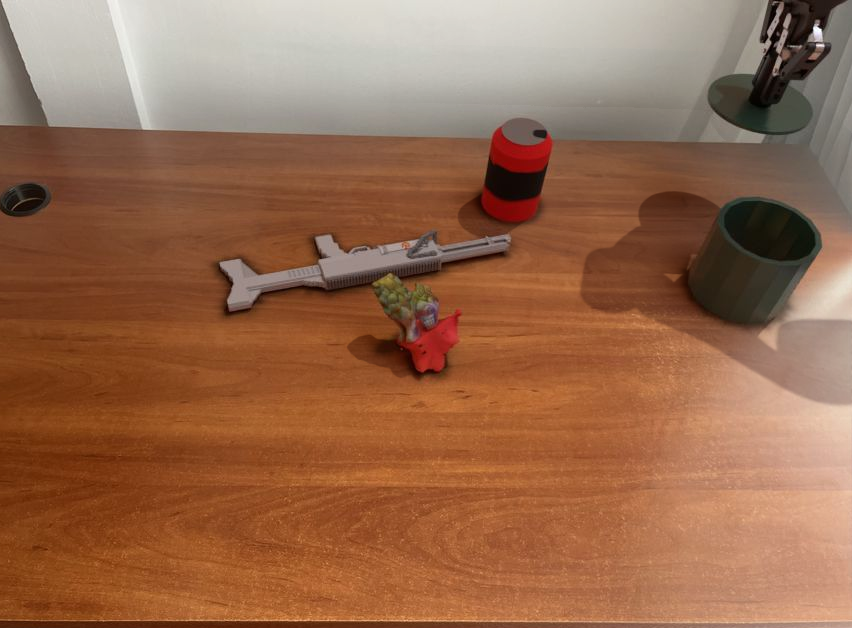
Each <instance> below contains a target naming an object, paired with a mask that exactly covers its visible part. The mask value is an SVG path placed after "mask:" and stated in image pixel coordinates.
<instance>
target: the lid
mask: <svg viewBox="0 0 852 628" xmlns="http://www.w3.org/2000/svg"><path fill="white" fill-rule="evenodd" d="M777 58H778V53H777V52H776V50H772V51H770V52H769V54H768V56H767V59H766V61H765V63H764V65H763V67H762V70H761V72H760V74H759V76H758V78H757V81H756V83H755V85H754V87H753V85H752V80H753V78H754V76H755V73H733V74H727V75H724V76H723V75H722V76H721V77H719V78H717V79H715V80H714V81H712V82H711V84H710V85H709V87H708V89H707V93H706V99H707V103H708V105H709V107H710V108H711V109H712V111H713V112H714V113H715V114H716V115H717V116H718V117H720V118H721V119H723V120H724V121H725V122H727V123H729V124H730V125H732V126H735V127H737V128H739V129H742V130H745V131H747V132H751V133H755V134H758V135H759V134H761V135H766V136H787V135H792V134H795V133H798V132H801V131H802V130H804V129H805V128H807V127H808V126H809V125H810V123H811V121H812V119H813V116H814V109H813V107H812V104H811V103H810V101H809V99H808V98H807V97H806V95H804V94H803V93H802V92H801V91H799V90H798V89H797V88H795V87H793V86H791V85H790V84H788V86H787V88H786V90H785V92H784V94H783V96H782V98H781V100H780V102H779V103H778V104H762V102H761V100H760V96H761V94H762V92H763V90H764V88H765V85H766V83H767V81H768V79H769V77H770V75H771V73H773V68H774V66H775V63H776V60H777ZM791 59H792V57H789V58H787V59H786V62H785V64H784V65H786V64H787V63H788V62H789V61H790V60H791Z"/></svg>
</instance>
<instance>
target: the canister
mask: <svg viewBox="0 0 852 628" xmlns="http://www.w3.org/2000/svg"><path fill="white" fill-rule="evenodd" d="M822 241H823V240H822V234H821V232H820V231H819V229H818V228H817V226H816V225H815V223H814V222H813V220H812V219H811V218H809V217H808V216H807V215H805V214H804V213H803V212H801V211H800V210H799V209H798V208H796V207H793V206H791V205H789V204H787V203H785V202H782V201H780V200H777V199H772V198H767V197H762V196H743V197H742V196H741V197H737V198H735V199H732V200H730V201H727V202H726V203H725V204H724V205H723V206H722V207H721V209H720V210H719V211H718V212H717V214H716V216H715V218H714V220H713V223H712V224H711V227H710V229H709V231H708V232H707V235H706V237H705V239H704V241H703V243H702V244H701V247H700V248H699V250H698V253H697V254H696V257H695V259H694V260H693V263H692V265H691V267H690V269H689V271H688V281H687V284H688V285H687V286H688V287H689V290H690V292H691V293H692V296H693V298H694V299H695V301H696V302H698V303H699V304H700V305H701V306H702V307H703V308H704V309H705V310H707V311H708V312H710V313H712V314H713V315H715V316H717V317H719V318H721V319H723V320H725V321H729V322H733V323H736V324H737V323H738V324H741V325H756V324H764V323H767V322H769V321H771V320H773V319H775V318H777V317H778V316H779V314H780V312H781V311H782V310H783V308H784V306H785V305H786V303H788V300H789V299H790V297H791V296H792V294H793V293H794V291H795V290H796V288H797V287H798V286H799V284H800V282H801V281H802V279H803V278H804V276H805V274H807V272H808V270H809V269H810V267H811V266H812V264H813V263H814V261H815V259H816V258H817V257H818V256H819V254H820V252H821V250H822V249H823V242H822Z"/></svg>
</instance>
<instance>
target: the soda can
mask: <svg viewBox="0 0 852 628" xmlns="http://www.w3.org/2000/svg"><path fill="white" fill-rule="evenodd" d="M490 141H491V143H490V147H489V153H488V160H487V165H486V172H485V176H484V183H483V189H482V194H481V205H482V208H483V210H484V211H485V212H486V213H487V214H488V215H490V216H491V217H493V218H494V219H496V220H500V221H503V222H508V223H517V222H518V223H519V222H524V221H527V220H529V219H531V218H532V217H533V216H534V215H535V214H536V212H537V210H538V206H539V203H540V199H541V194H542V191H543V186H544V182H545V179H546V175H547V171H548V168H549V167H548V166H549V162H550V158H551V154H552V152H553V151H552V150H553V146H554V142H553V139H552V137H551V135H550V134H549V132H548V131H547V128H546V127H545V125H543V124H542V123H541V122H538V121H537V120H535V119H531V118H528V117H515V118H510V119H508V120H506V121H505V122H504V123H503V124H501V125H500V126H499V127H498V128H496V129H495V130H494V131H493V134H492V136H491V140H490Z"/></svg>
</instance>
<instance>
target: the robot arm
mask: <svg viewBox="0 0 852 628" xmlns="http://www.w3.org/2000/svg"><path fill="white" fill-rule="evenodd" d="M847 1H848V0H768V1H767V5H766V9H765V14H764V18H763V22H762V27H761V31H760V35H759V43H760V44H763V46H762V49H761V56H762V58H761V60H760V62H759V65H758V66H757V68H756V71H755V73H754V74H755V76H754V78H753V80H752V85H753V87H754V85H755V83H756V81H757V78H758V76H759V74H760V72H761V70H762V67H763V65H764V63H765V61H766V59H767V56H768V54H769V52H770V51H772V50H776V52H777V53H778V58H777V60H776V63H775V66H774V68H773V73H771V75H770V77H769V79H768V81H767V83H766V85H765V88H764V90H763V92H762V94H761V96H760V100H761V102H762V104H778V103H779V102H780V100H781V98H782V96H783V94H784V92H785V90H786V88H787V86H788V85H790V82H791V81H802V82H803V81H804V80H806V78H807V77H809V75H811V73H812V72H813V71H814V70H815V69H816V68H817V67H818V66H819V65H820V63H822V61H824V59H825V58H826V57H827V56H829V54H830V53H831V50H832V43H831V42H828V41H827V42H826V41H824V38H823V32H824V31H825V30H826V28H827V25H828V23H829V22H828V21H829V19H830V15H831V11H833V9H835V8H836V7H838V6H840V5H842V4H845V3H847ZM789 57H792V59H791V60H790V61H789V62H788V63H787V64H786V65H784V64H785V62H786V59H787V58H789Z"/></svg>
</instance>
